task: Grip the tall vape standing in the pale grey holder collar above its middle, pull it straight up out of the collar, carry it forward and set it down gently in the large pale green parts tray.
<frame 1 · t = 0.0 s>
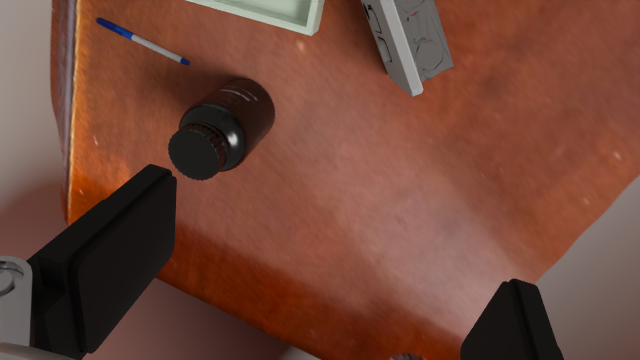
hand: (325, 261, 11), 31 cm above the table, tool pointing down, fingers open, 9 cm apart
ballpoint pen: (146, 40, 44), on the table
supplement bottle: (247, 107, 45), on the table
electrical switch: (400, 16, 37), on the table
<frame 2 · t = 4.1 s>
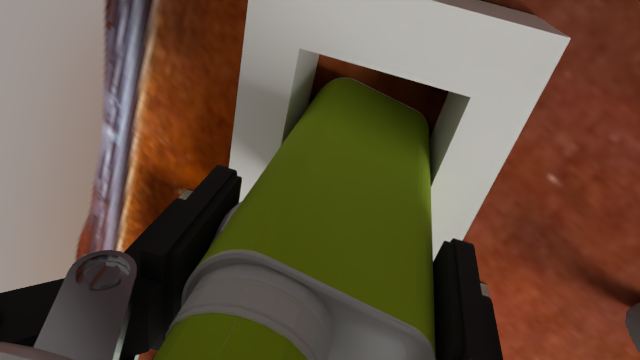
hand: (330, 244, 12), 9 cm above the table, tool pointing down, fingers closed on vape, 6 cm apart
vape: (366, 125, 20), on the table, touching gripper
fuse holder: (366, 126, 20), on the table
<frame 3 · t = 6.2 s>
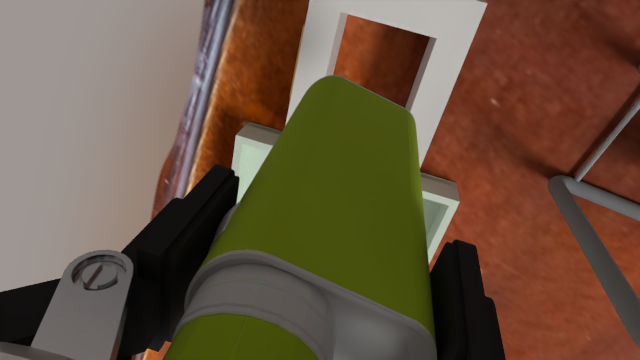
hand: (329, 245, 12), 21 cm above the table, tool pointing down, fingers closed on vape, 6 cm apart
vape: (355, 123, 20), point 12 cm above the table, touching gripper
parts tray: (324, 241, 39), on the table
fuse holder: (375, 70, 31), on the table
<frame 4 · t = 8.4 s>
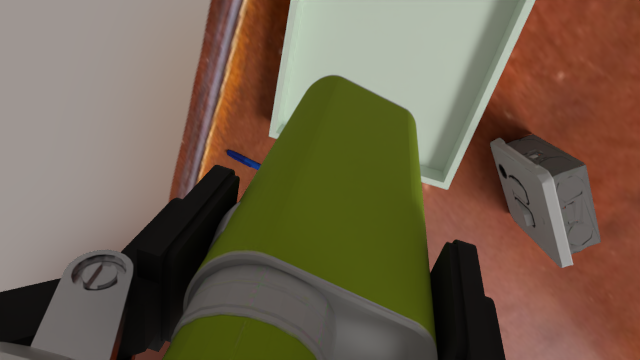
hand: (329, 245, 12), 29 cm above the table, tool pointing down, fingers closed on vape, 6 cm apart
vape: (355, 123, 20), point 19 cm above the table, touching gripper
ballpoint pen: (271, 169, 46), on the table
parts tray: (389, 53, 37), on the table
electrical switch: (528, 168, 40), on the table
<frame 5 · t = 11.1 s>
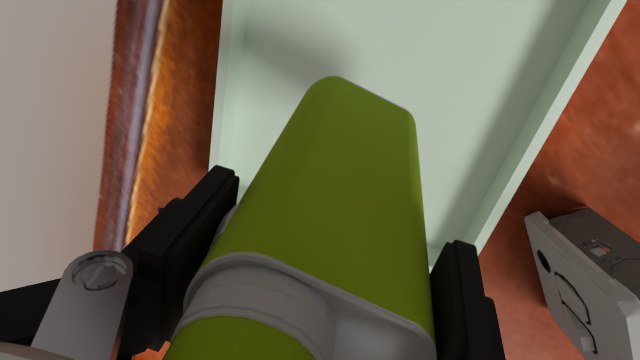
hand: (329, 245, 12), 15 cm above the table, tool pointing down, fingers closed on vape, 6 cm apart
vape: (355, 123, 20), point 6 cm above the table, touching gripper
parts tray: (378, 88, 25), on the table
electrical switch: (577, 251, 28), on the table
when the fingers open (10 cm above the table, at t = 13.0 s): vape stays where it is, resting on parts tray.
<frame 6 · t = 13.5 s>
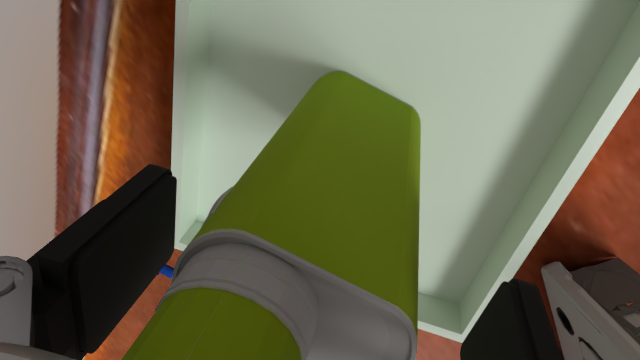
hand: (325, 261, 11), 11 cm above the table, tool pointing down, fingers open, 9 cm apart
vape: (360, 119, 20), point 1 cm above the table, touching parts tray
parts tray: (368, 118, 21), on the table
electrical switch: (602, 305, 24), on the table
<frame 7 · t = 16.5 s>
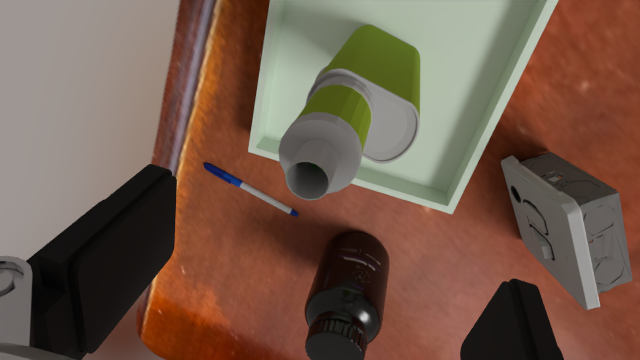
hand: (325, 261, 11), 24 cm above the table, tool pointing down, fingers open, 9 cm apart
vape: (381, 57, 31), point 1 cm above the table, touching parts tray
ballpoint pen: (253, 187, 41), on the table
supplement bottle: (356, 254, 43), on the table
parts tray: (386, 58, 32), on the table
electrical switch: (543, 190, 35), on the table
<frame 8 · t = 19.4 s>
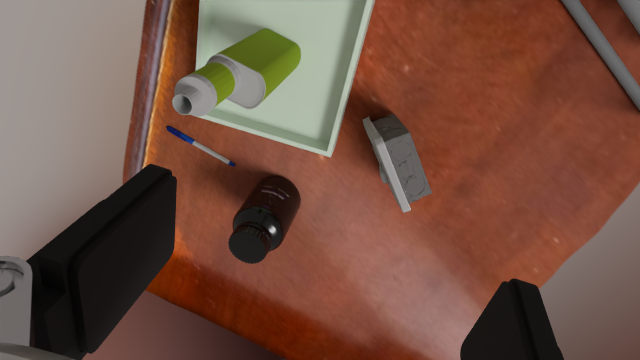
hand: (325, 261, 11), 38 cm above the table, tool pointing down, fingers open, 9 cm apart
vape: (276, 50, 47), point 1 cm above the table, touching parts tray
ballpoint pen: (203, 144, 57), on the table
supplement bottle: (278, 194, 58), on the table
parts tray: (281, 50, 48), on the table
electrical switch: (395, 141, 51), on the table
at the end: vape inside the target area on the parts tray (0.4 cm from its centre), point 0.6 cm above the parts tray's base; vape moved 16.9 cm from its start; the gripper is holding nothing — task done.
